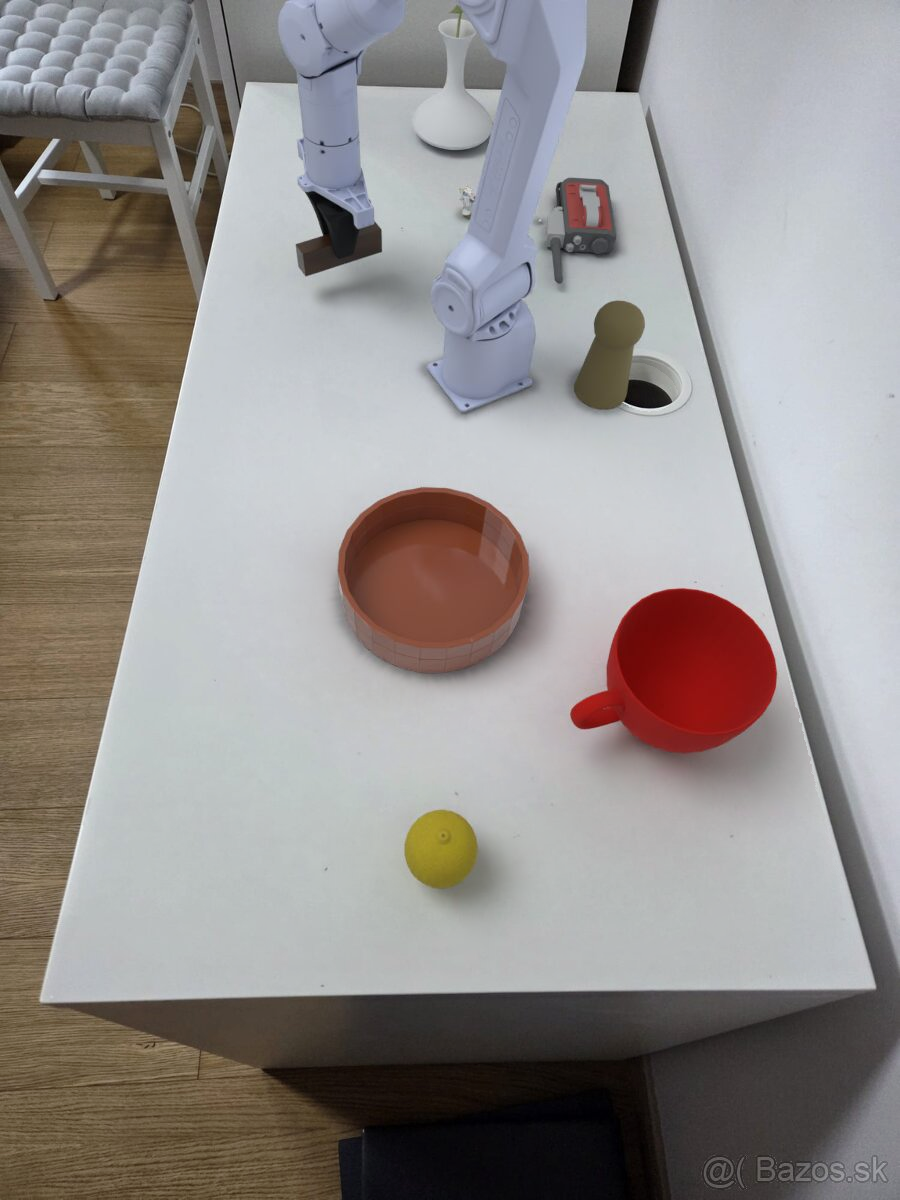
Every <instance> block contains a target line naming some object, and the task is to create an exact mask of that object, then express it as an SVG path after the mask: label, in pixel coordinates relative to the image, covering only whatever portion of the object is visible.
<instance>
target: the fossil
mask: <svg viewBox="0 0 900 1200" xmlns="http://www.w3.org/2000/svg"><path fill="white" fill-rule="evenodd" d="M471 187H472V186H471V185H469V184H467V185H466V186H464V187H461V188H459V190H458V191H459V195H460V196H459V201H460V203H461V204H462V206H463V207H462V212H461V215H462V216H471V214H472V210H473V206H474V201H475V197H476V194H474V191H473V189H472V188H471ZM538 222H542V219H539V220H538Z"/></svg>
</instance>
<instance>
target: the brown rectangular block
mask: <svg viewBox="0 0 900 1200" xmlns="http://www.w3.org/2000/svg"><path fill="white" fill-rule="evenodd" d="M382 230H383V229H382V228H381V226H380V225H378V222H376V220H374V224H373V225H370V226H367V227H364V228H360V230H359V234H358V238H357V242H356V247H355V251H354V254H353V255H350V256H347V257H344V258H341V259H338V258H337V257H336V255H335V252H334V250H333V246H332V242H331V237H330V234H327V235H323V234H322V235H321V236H318V237H314V238H311V239H308V240H304V241H301V242H298V243H295V250H296V257H297V258H296V259H297V266H298V269H299V270H300V271H301V272H302V274H303V275H304V276H305V277H310V276H312V275H316V274H318V273H322V272H324V271H328V270H331V269H333V268H337V267H340V266H343V265H347V264H350V263H352V262H355V261H358V260H361V259H365V258H368V257H371V256H374V255H377V254H380V253H382V252H383V231H382Z"/></svg>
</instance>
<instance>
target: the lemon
mask: <svg viewBox="0 0 900 1200" xmlns="http://www.w3.org/2000/svg"><path fill="white" fill-rule="evenodd" d="M478 848H479V846H478V839H477V835H476V832H475V831H474V829H473V827H472V825H471V824H470V822H469V821H468V820H467V819H466V818H465V817H463V816H462V815H461V814H459V813H458V812H455V811H453V810H447V809H435V810H431V811H429V812H426V813H424V814H423V815H421V816H420V817H418V818H417V819H416V820H415V821H414V823H412V824H411V826H410V828H409V830H408V832H407V833H406V836H405V840H404V849H403V851H404V853H403V854H404V858H405V863H406V866H407V867H408V869H409V872H410V873H411V874H412V876H414V878H415V879H416V880H417V881H419V882H420V883H422V884H423V885H425V886H427V887H431V888H434V889H447V888H452V887H454V886H456V885H458V884H460V883H462V882H463V881H464V880H465V879H466V878H467V877H468V876H469V875H470V874H471V872H472V871H473V869H474V867H475V865H476V861H477V859H478Z"/></svg>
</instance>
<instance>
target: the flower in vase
mask: <svg viewBox="0 0 900 1200" xmlns="http://www.w3.org/2000/svg"><path fill="white" fill-rule="evenodd" d="M463 13H464V12H463V10H462V9H461V7H460V6H459V4H457V5H456V6H454V7H453V9H452V10H450V11H449V12H448V14H455V15H456V14H457V15H458V18H448V19H445V20H443V21H441V22H440V23H439V25H438V27H437V28H438V31H439V33H440V35H441V37H442V38H443V39H442V40H443V41H444V45H445V50H446V60H447V61H446V62H447V63H446V64H447V65H446V80H445V83H444V86H443V88H442V89H440V90H439V91H437V92H436V93H434V94H432V95H431V96H429V98H427V99H425V100H424V101H423V102H422V103H421V104H420V105H419V106H418V107H417V108H416V110H415V112H414V114H413V116H412V120H411V121H412V122H411V124H412V128H413V130H414V131H415V133H416V135H417V136H418V137H419V139H421V140H422V141H424V142H425V143H426V144H428V145H430V146H433V147H436V148H438V149H443V150H450V151H462V150H468V149H472V148H473V149H474V148H476V147H478V146H480V145H481V144H483V143H484V142H486V140H488V138H490V136H491V132H492V127H493V121H492V117H491V115H490V113H489V112H488V110H487V109H486V108H485V106H484V105H483V104H482V103H481V102H480V101H479V100H478V99H476V98H475V97H474V96H473V95H471V93H469V92H468V91H467V89H466V87H465V82H464V81H465V80H464V73H465V64H466V58H467V53H468V50H469V47H470V44H471V42H472V40H473V39H474V37H476V35H477V34H478V33H477V32H476V30H475V29H474V27H473V26H472V24H471V23H470V21H469V20H468V19H463V18H462V14H463Z"/></svg>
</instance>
